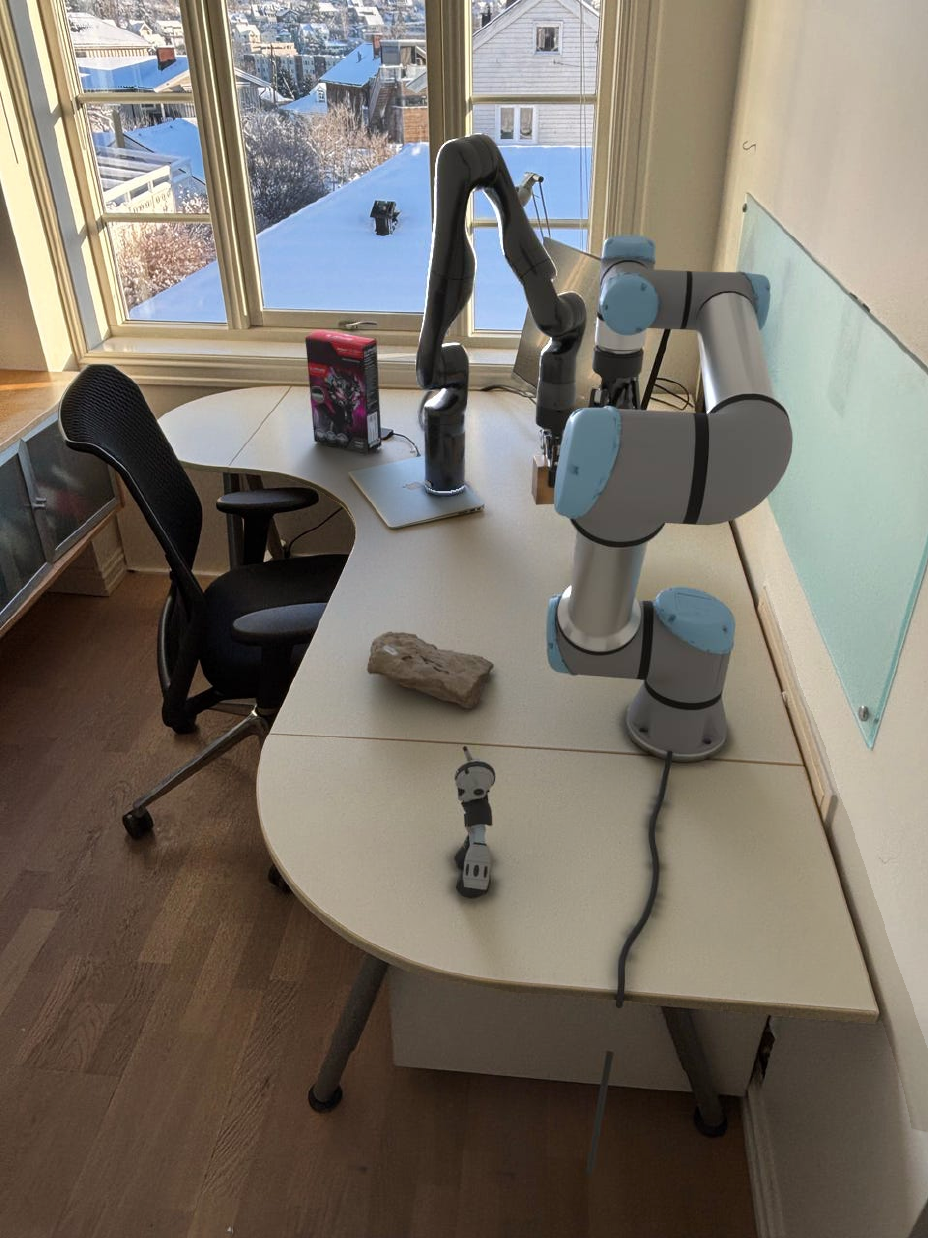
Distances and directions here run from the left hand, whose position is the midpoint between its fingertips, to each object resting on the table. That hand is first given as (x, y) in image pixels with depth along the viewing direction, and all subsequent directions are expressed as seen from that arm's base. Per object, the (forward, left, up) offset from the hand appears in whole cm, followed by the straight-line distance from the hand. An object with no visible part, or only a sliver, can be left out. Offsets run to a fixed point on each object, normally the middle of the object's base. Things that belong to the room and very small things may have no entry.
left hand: (550, 479), depth 188 cm
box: (0, +9, -4) cm, 10 cm away
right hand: (+34, 0, +17) cm, 38 cm away
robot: (+88, -30, -13) cm, 94 cm away
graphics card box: (-53, -39, -13) cm, 68 cm away
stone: (+47, -31, -13) cm, 58 cm away
